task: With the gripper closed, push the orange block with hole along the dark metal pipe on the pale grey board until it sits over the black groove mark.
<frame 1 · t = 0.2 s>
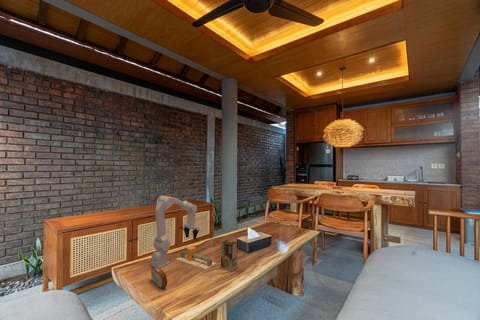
hand: (190, 238, 166), 10 cm above the table, tool pointing down, fingers open, 7 cm apart
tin: (158, 285, 119), on the table
orange block with hole: (191, 253, 150), point 5 cm above the table, slide at 0.0 cm
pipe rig: (195, 262, 148), on the table
coffee box: (228, 268, 141), on the table
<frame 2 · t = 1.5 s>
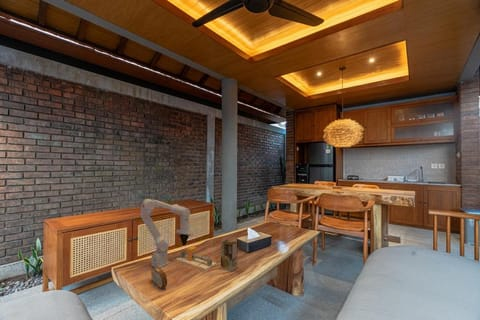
hand: (184, 244, 154), 9 cm above the table, tool pointing down, fingers closed
nothing on the table moved.
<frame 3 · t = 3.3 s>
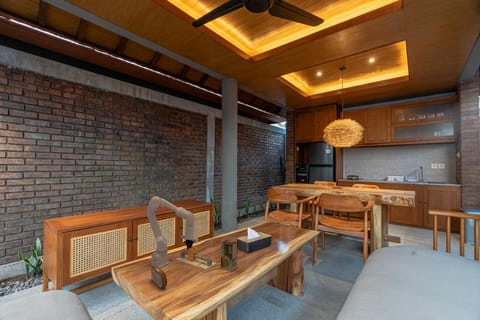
hand: (189, 250, 151), 6 cm above the table, tool pointing down, fingers closed
orange block with hole: (192, 253, 149), point 5 cm above the table, slide at 1.3 cm, touching gripper
everything else where it was.
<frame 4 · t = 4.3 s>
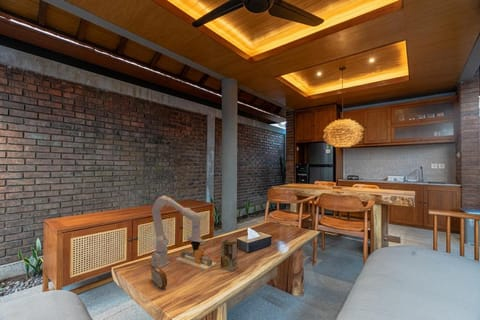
hand: (195, 252, 148), 6 cm above the table, tool pointing down, fingers closed
orange block with hole: (199, 255, 146), point 5 cm above the table, slide at 7.1 cm, touching gripper
everything else where it was.
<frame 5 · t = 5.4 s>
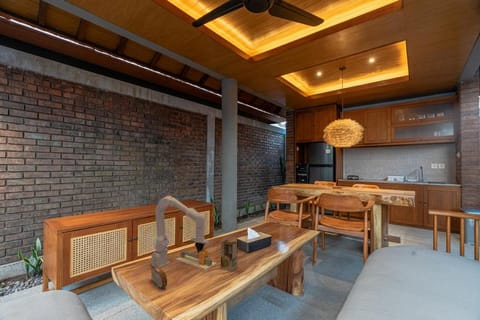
hand: (199, 253, 146), 6 cm above the table, tool pointing down, fingers closed
orange block with hole: (203, 256, 144), point 5 cm above the table, slide at 10.8 cm, touching gripper
everything else where it was.
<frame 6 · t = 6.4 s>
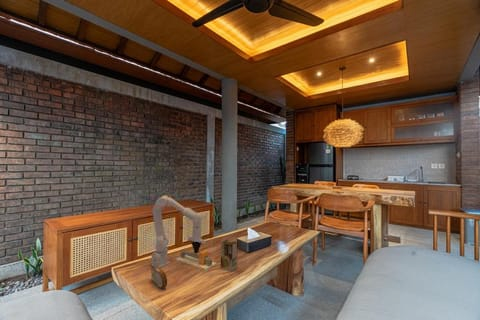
hand: (196, 252, 147), 6 cm above the table, tool pointing down, fingers closed
orange block with hole: (203, 256, 144), point 5 cm above the table, slide at 10.8 cm
everything else where it was.
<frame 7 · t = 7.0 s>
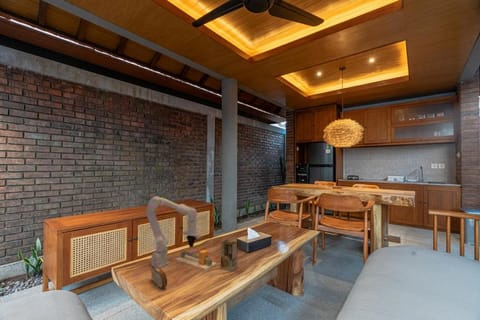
hand: (191, 246, 149), 10 cm above the table, tool pointing down, fingers closed
nothing on the table moved.
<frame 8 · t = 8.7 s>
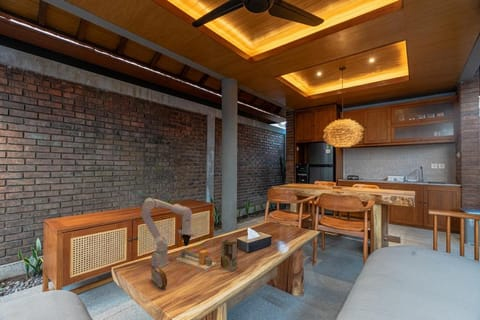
hand: (186, 245, 151), 10 cm above the table, tool pointing down, fingers closed
nothing on the table moved.
at the end: orange block with hole slide at 10.8 cm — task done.
